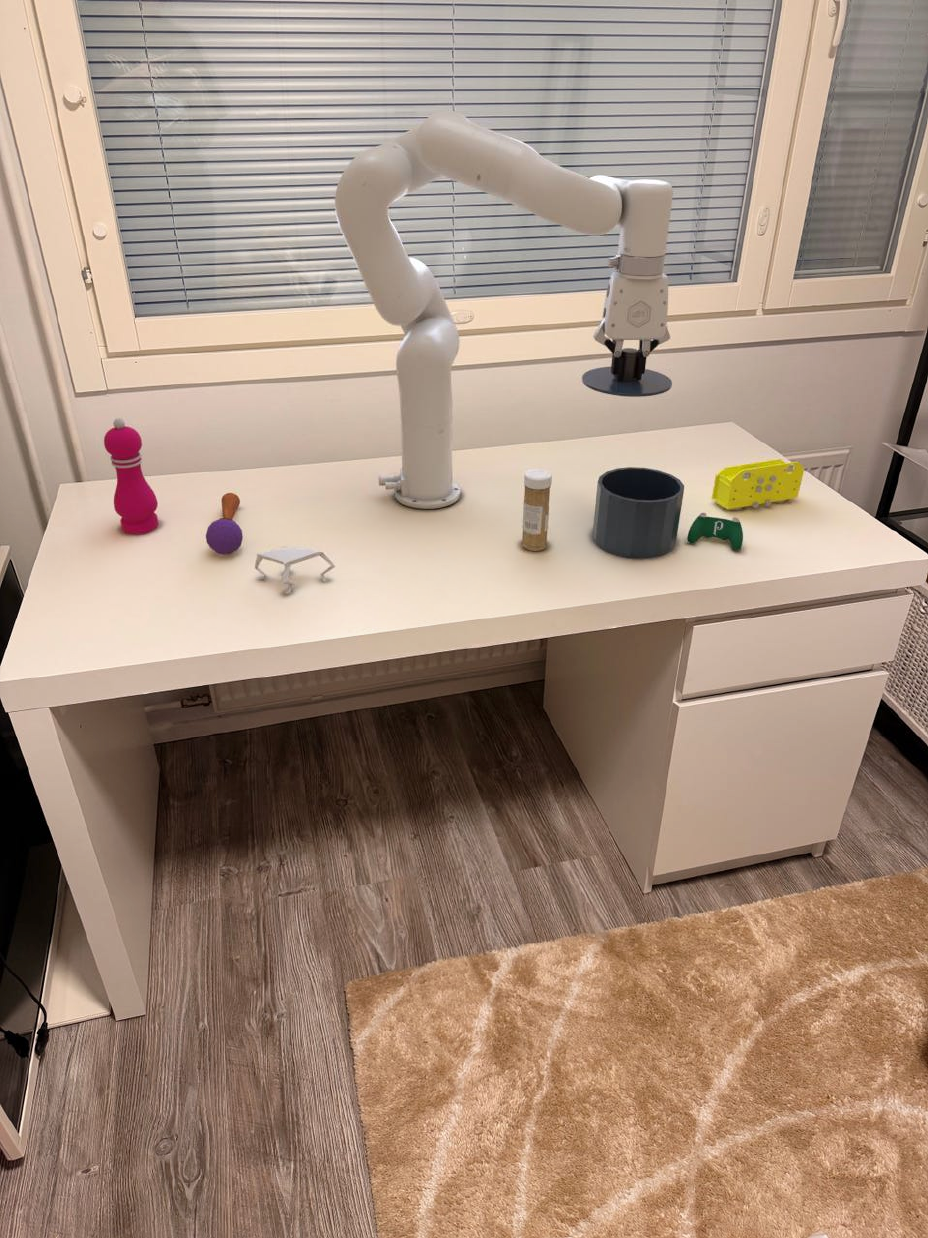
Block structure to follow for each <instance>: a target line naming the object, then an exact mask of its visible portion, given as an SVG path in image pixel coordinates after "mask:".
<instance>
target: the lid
mask: <svg viewBox="0 0 928 1238" xmlns="http://www.w3.org/2000/svg"><path fill="white" fill-rule="evenodd" d="M638 350H639V349H636V348H631V347H626V348H625V347H624V348H622V352H621V353H622V357H623V358H624V360H623V369H622V378H621V380H620V381H617V380H616V379H615V378H614V376H613V374H611V366H603V367H597V368H596V367H595V368H593V369H589V370H588V371H585V372H584V373H583V374H582V375H581V382H582V384H583V385H584V386H585V387H587V388H588V389H591V390H592V391H596V392H597V393H601V394H605V395H611V396H616V397H617V396H618V397H627V398H628V397H630V398H637V397H638V398H640V397H641V398H642V397H652V396H657V395H661V394H664V393H667V392H668V391H670V389H671V388H672V386H673V382H672V379H671V378H670V377H668V376H667V375H665V374H663V373H661V372H658V371H655V370H652V369H648V368H645V373H644V374H642V377H641V380H636V378H635V376H636V367H637V359H638Z"/></svg>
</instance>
